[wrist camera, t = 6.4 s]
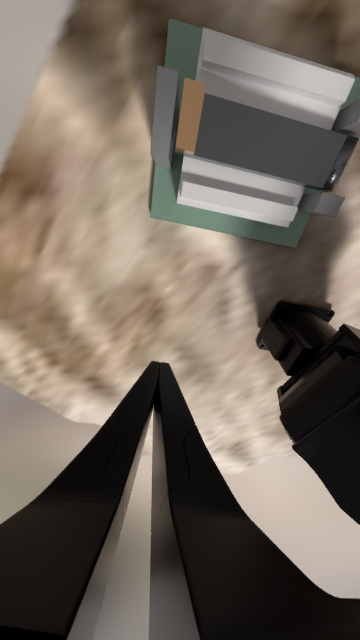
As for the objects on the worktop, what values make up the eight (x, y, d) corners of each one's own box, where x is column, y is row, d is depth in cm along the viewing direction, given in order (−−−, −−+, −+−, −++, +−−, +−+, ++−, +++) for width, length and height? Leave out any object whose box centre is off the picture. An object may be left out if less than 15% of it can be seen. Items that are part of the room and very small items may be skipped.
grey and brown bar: (349, 144, 11) (374, 135, 10) (325, 192, 12) (345, 191, 11) (183, 95, 10) (184, 77, 9) (175, 154, 11) (175, 147, 10)
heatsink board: (364, 89, 13) (470, 22, 8) (290, 246, 18) (330, 261, 13) (169, 28, 11) (162, -91, 7) (151, 216, 16) (140, 222, 12)
